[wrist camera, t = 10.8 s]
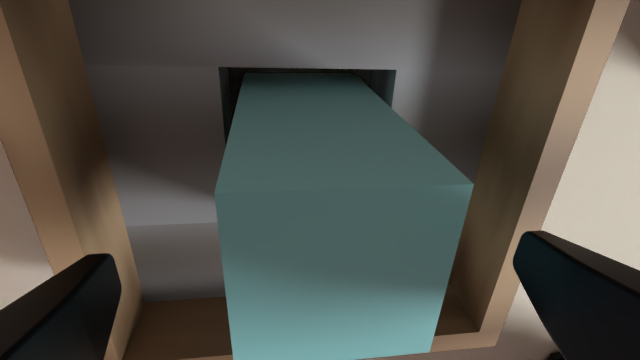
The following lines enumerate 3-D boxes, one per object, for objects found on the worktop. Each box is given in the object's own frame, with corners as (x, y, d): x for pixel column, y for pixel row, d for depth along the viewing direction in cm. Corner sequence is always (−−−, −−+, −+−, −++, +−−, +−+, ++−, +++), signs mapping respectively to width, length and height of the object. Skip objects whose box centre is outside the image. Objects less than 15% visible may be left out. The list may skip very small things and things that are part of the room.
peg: (346, 170, 17) (429, 352, 9) (250, 173, 17) (234, 371, 8) (354, 73, 15) (474, 184, 7) (244, 72, 15) (213, 192, 6)
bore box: (436, 256, 21) (495, 346, 16) (145, 273, 19) (97, 385, 13) (517, -82, 13) (680, -129, 8) (50, -119, 11) (-140, -216, 6)
